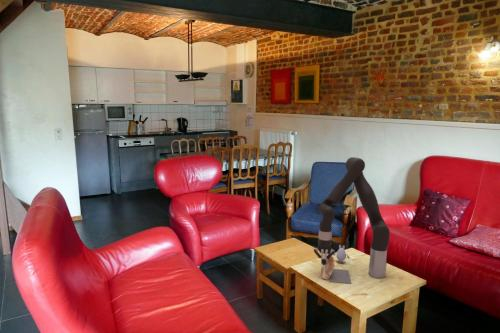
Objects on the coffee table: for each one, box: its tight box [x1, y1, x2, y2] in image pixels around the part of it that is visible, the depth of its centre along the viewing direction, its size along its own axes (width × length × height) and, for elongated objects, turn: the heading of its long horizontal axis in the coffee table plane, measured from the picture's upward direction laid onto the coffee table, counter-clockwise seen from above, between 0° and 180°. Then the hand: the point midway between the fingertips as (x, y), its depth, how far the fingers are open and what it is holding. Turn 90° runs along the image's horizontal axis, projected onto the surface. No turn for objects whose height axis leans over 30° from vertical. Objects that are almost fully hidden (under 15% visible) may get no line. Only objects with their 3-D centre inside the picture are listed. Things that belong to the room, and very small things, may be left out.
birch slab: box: [321, 255, 336, 281], centre depth 216 cm, size 4×12×10 cm, turn 172°
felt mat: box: [328, 268, 352, 285], centre depth 216 cm, size 13×16×1 cm
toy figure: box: [332, 244, 350, 264], centre depth 232 cm, size 11×6×12 cm, turn 65°
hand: (323, 264), depth 216 cm, fingers closed
